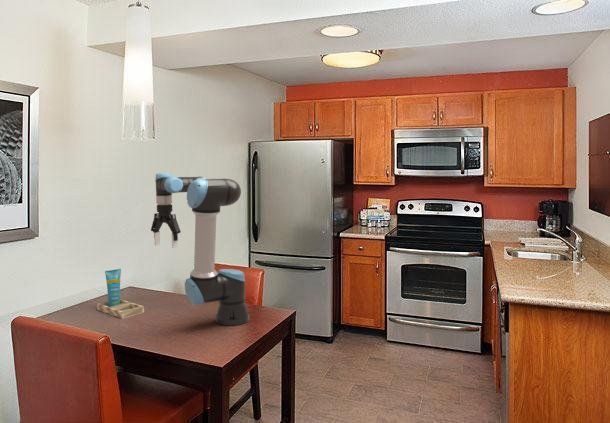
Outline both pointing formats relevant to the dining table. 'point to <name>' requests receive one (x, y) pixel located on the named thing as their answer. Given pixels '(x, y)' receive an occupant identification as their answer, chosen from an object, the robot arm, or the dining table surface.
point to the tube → (113, 286)
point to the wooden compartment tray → (121, 309)
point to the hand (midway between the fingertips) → (166, 246)
